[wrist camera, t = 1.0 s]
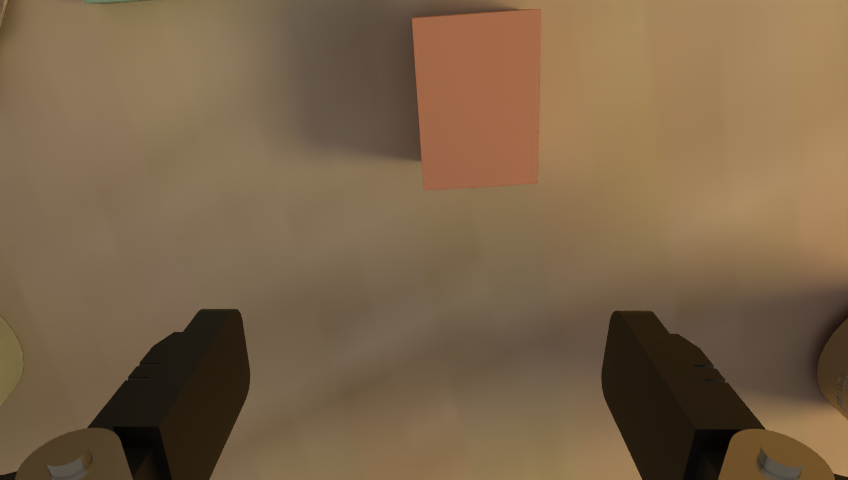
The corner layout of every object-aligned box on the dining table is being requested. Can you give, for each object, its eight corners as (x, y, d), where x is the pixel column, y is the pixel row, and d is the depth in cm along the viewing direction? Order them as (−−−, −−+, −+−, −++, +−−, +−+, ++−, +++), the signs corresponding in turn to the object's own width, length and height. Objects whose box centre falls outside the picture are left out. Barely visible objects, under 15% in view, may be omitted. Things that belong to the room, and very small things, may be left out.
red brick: (519, 9, 25) (541, 9, 21) (518, 155, 28) (537, 183, 23) (413, 16, 25) (411, 18, 21) (423, 161, 28) (423, 190, 23)
